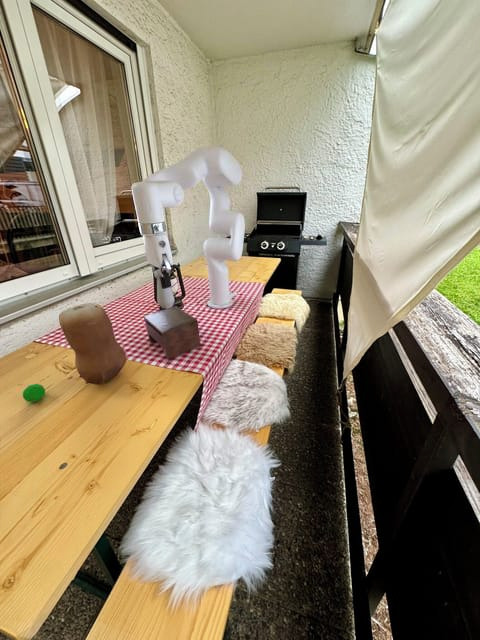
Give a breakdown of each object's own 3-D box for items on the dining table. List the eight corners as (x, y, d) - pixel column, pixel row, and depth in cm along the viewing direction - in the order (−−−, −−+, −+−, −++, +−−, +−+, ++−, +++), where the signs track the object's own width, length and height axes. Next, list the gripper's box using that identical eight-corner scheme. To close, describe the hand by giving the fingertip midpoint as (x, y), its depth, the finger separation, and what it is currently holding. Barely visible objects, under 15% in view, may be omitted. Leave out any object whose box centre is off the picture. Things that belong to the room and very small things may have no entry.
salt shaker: (171, 310, 87) (164, 273, 80) (155, 309, 88) (147, 272, 82) (178, 303, 92) (172, 267, 85) (163, 302, 93) (156, 266, 87)
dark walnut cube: (179, 329, 106) (175, 305, 101) (200, 345, 95) (197, 319, 90) (149, 341, 99) (143, 316, 94) (168, 360, 88) (163, 333, 83)
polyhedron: (24, 408, 71) (17, 395, 69) (29, 396, 75) (22, 383, 73) (46, 402, 73) (39, 389, 71) (49, 390, 77) (43, 378, 74)
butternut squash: (98, 363, 88) (73, 296, 76) (136, 363, 87) (117, 295, 75) (73, 393, 75) (39, 318, 63) (118, 393, 75) (92, 318, 63)
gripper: (177, 230, 74) (185, 289, 83) (153, 224, 85) (162, 277, 94) (152, 233, 70) (164, 296, 78) (130, 227, 81) (142, 282, 90)
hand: (163, 285), depth 86 cm, fingers closed on salt shaker, 4 cm apart
